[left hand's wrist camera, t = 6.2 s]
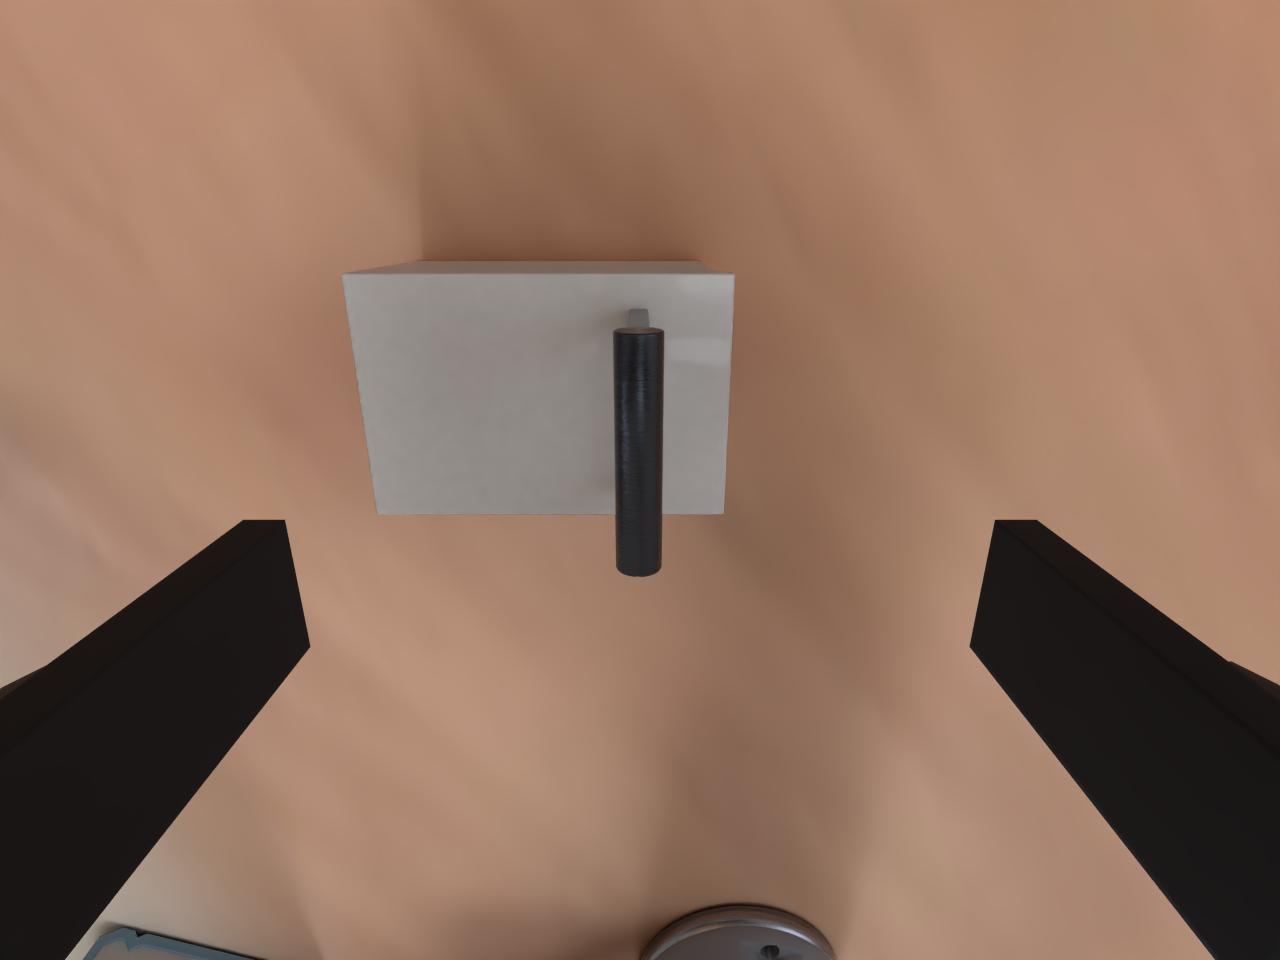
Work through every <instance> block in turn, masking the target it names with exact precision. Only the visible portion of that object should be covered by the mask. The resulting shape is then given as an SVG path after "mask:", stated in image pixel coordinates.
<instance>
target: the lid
mask: <svg viewBox="0 0 1280 960" xmlns="http://www.w3.org/2000/svg"><path fill="white" fill-rule="evenodd" d="M342 282H343V289H344V295H345V302H346V309H347V316H348V322H349V329H350V336H351V342H352V349H353V356H354V363H355V369H356V376H357V383H358V390H359V396H360V403H361V410H362V416H363V423H364V430H365V437H366V443H367V450H368V457H369V463H370V470H371V477H372V484H373V490H374V497H375V504H376V511H377V514H378V515H615V520H616V567H617V569H618V571H619V572H621V573H623V574H625V575H628V576H633V577H645V576H650V575H653V574H655V573H657V572H658V571H659V570H660V569H661V565H662V515H722V514H723V513H724V499H725V478H726V457H727V436H728V415H729V394H730V373H731V352H732V331H733V309H734V288H735V274H734V273H732V272H348V273H343V274H342Z"/></svg>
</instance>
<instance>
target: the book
mask: <svg viewBox="0 0 1280 960" xmlns="http://www.w3.org/2000/svg"><path fill="white" fill-rule="evenodd" d="M83 960H253V959H249V958H245V957H241V956H237V955H232V954H228V953H224V952H220V951H216V950H212V949H208V948H204V947H200V946H196V945H192V944H188V943H184V942H179V941H175V940H171V939H167V938H163V937H159V936H155V935H151V934H145V935H143V936H140V937H137V934H136V932H135V930H131V929H126V928H121V929H118V930H115V931H113V932H110V933H108V934H105V935H102V936H100V938H99V939H98V940H97V942H96V943H95V944H94V945H93V947H92V948H91V949H90V951H89V952H88V953H87V955H86V956H85V957H84V959H83Z"/></svg>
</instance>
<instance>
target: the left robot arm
mask: <svg viewBox="0 0 1280 960" xmlns="http://www.w3.org/2000/svg"><path fill="white" fill-rule="evenodd" d="M309 648H310V642H309V637H308V632H307V627H306V622H305V617H304V612H303V607H302V602H301V597H300V592H299V587H298V582H297V578H296V573H295V568H294V563H293V558H292V553H291V548H290V543H289V538H288V533H287V528H286V523H285V520H243V521H241V522H240V523H239V524H237V525H236V526H234V527H233V528H232V529H230V530H229V531H228V532H226V533H225V534H224V535H222V536H221V537H220V538H218V539H217V540H216V541H214V542H213V543H211V544H210V545H209V546H207V547H206V548H205V549H203V550H202V551H201V552H199V553H198V554H197V555H195V556H194V557H193V558H191V559H190V560H188V561H187V562H186V563H184V564H183V565H182V566H180V567H179V568H178V569H176V570H175V571H174V572H172V573H171V574H170V575H168V576H167V577H166V578H164V579H163V580H161V581H160V582H159V583H157V584H156V585H155V586H153V587H152V588H151V589H149V590H148V591H147V592H145V593H144V594H143V595H141V596H140V597H138V598H137V599H136V600H134V601H133V602H132V603H130V604H129V605H128V606H126V607H125V608H124V609H122V610H121V611H120V612H118V613H117V614H115V615H114V616H113V617H111V618H110V619H109V620H107V621H106V622H105V623H103V624H102V625H101V626H99V627H98V628H97V629H95V630H94V631H93V632H91V633H90V634H88V635H87V636H86V637H84V638H83V639H82V640H80V641H79V642H78V643H76V644H75V645H74V646H72V647H71V648H70V649H68V650H67V651H65V652H64V653H63V654H61V655H60V656H59V657H57V658H56V659H55V660H53V661H52V662H51V663H49V664H48V665H46V666H44V667H42V668H40V669H38V670H36V671H34V672H32V673H30V674H28V675H26V676H24V677H22V678H20V679H18V680H16V681H14V682H12V683H10V684H8V685H6V686H4V687H2V688H1V689H0V960H65V959H66V958H67V956H68V955H69V954H70V952H71V951H72V950H73V949H74V947H75V946H76V945H77V944H78V942H79V941H80V940H81V938H82V937H83V936H84V935H85V933H86V932H87V931H88V930H89V928H90V927H91V926H92V924H93V923H94V922H95V921H96V919H97V918H98V917H99V915H100V914H101V913H102V912H103V910H104V909H105V908H106V907H107V905H108V904H109V903H110V901H111V900H112V899H113V898H114V896H115V895H116V894H117V893H118V891H119V890H120V889H121V887H122V886H123V885H124V884H125V882H126V881H127V880H128V879H129V877H130V876H131V875H132V873H133V872H134V871H135V870H136V868H137V867H138V866H139V865H140V863H141V862H142V861H143V859H144V858H145V857H146V856H147V854H148V853H149V852H150V850H151V849H152V848H153V847H154V845H155V844H156V843H157V842H158V840H159V839H160V838H161V836H162V835H163V834H164V833H165V831H166V830H167V829H168V828H169V826H170V825H171V824H172V822H173V821H174V820H175V819H176V817H177V816H178V815H179V814H180V812H181V811H182V810H183V808H184V807H185V806H186V805H187V803H188V802H189V801H190V800H191V798H192V797H193V796H194V794H195V793H196V792H197V791H198V789H199V788H200V787H201V785H202V784H203V783H204V782H205V780H206V779H207V778H208V777H209V775H210V774H211V773H212V771H213V770H214V769H215V768H216V766H217V765H218V764H219V763H220V761H221V760H222V759H223V757H224V756H225V755H226V754H227V752H228V751H229V750H230V749H231V747H232V746H233V745H234V743H235V742H236V741H237V740H238V738H239V737H240V736H241V734H242V733H243V732H244V731H245V729H246V728H247V727H248V726H249V724H250V723H251V722H252V720H253V719H254V718H255V717H256V715H257V714H258V713H259V712H260V710H261V709H262V708H263V706H264V705H265V704H266V703H267V701H268V700H269V699H270V698H271V696H272V695H273V694H274V692H275V691H276V690H277V689H278V687H279V686H280V685H281V684H282V682H283V681H284V680H285V678H286V677H287V676H288V675H289V673H290V672H291V671H292V669H293V668H294V667H295V666H296V664H297V663H298V662H299V661H300V659H301V658H302V657H303V655H304V654H305V653H306V652H307V650H308V649H309ZM970 648H971V649H972V650H973V652H974V653H975V654H976V655H977V657H978V658H979V659H980V661H981V662H982V663H983V664H984V666H985V667H986V668H987V669H988V671H989V672H990V673H991V675H992V676H993V677H994V678H995V680H996V681H997V682H998V684H999V685H1000V686H1001V687H1002V689H1003V690H1004V691H1005V692H1006V694H1007V695H1008V696H1009V698H1010V699H1011V700H1012V701H1013V703H1014V704H1015V705H1016V706H1017V708H1018V709H1019V710H1020V712H1021V713H1022V714H1023V715H1024V717H1025V718H1026V719H1027V720H1028V722H1029V723H1030V724H1031V726H1032V727H1033V728H1034V729H1035V731H1036V732H1037V733H1038V735H1039V736H1040V737H1041V738H1042V740H1043V741H1044V742H1045V743H1046V745H1047V746H1048V747H1049V749H1050V750H1051V751H1052V752H1053V754H1054V755H1055V756H1056V757H1057V759H1058V760H1059V761H1060V763H1061V764H1062V765H1063V766H1064V768H1065V769H1066V770H1067V771H1068V773H1069V774H1070V775H1071V777H1072V778H1073V779H1074V780H1075V782H1076V783H1077V784H1078V785H1079V787H1080V788H1081V789H1082V791H1083V792H1084V793H1085V794H1086V796H1087V797H1088V798H1089V800H1090V801H1091V802H1092V803H1093V805H1094V806H1095V807H1096V808H1097V810H1098V811H1099V812H1100V814H1101V815H1102V816H1103V817H1104V819H1105V820H1106V821H1107V822H1108V824H1109V825H1110V826H1111V828H1112V829H1113V830H1114V831H1115V833H1116V834H1117V835H1118V836H1119V838H1120V839H1121V840H1122V842H1123V843H1124V844H1125V845H1126V847H1127V848H1128V849H1129V850H1130V852H1131V853H1132V854H1133V856H1134V857H1135V858H1136V859H1137V861H1138V862H1139V863H1140V865H1141V866H1142V867H1143V868H1144V870H1145V871H1146V872H1147V873H1148V875H1149V876H1150V877H1151V879H1152V880H1153V881H1154V882H1155V884H1156V885H1157V886H1158V887H1159V889H1160V890H1161V891H1162V893H1163V894H1164V895H1165V896H1166V898H1167V899H1168V900H1169V901H1170V903H1171V904H1172V905H1173V907H1174V908H1175V909H1176V910H1177V912H1178V913H1179V914H1180V915H1181V917H1182V918H1183V919H1184V921H1185V922H1186V923H1187V924H1188V926H1189V927H1190V928H1191V930H1192V931H1193V932H1194V933H1195V935H1196V936H1197V937H1198V938H1199V940H1200V941H1201V942H1202V944H1203V945H1204V946H1205V947H1206V949H1207V950H1208V951H1209V952H1210V954H1211V955H1212V956H1213V958H1214V959H1215V960H1280V686H1279V685H1278V684H1276V683H1274V682H1272V681H1270V680H1268V679H1266V678H1264V677H1262V676H1260V675H1258V674H1256V673H1254V672H1252V671H1250V670H1248V669H1246V668H1244V667H1242V666H1240V665H1238V664H1236V663H1233V662H1228V661H1227V660H1225V659H1224V658H1223V657H1221V656H1220V655H1219V654H1217V653H1216V652H1215V651H1213V650H1212V649H1210V648H1209V647H1208V646H1206V645H1205V644H1204V643H1202V642H1201V641H1200V640H1198V639H1197V638H1196V637H1194V636H1193V635H1192V634H1190V633H1189V632H1187V631H1186V630H1185V629H1183V628H1182V627H1181V626H1179V625H1178V624H1177V623H1175V622H1174V621H1173V620H1171V619H1170V618H1169V617H1167V616H1166V615H1165V614H1163V613H1162V612H1160V611H1159V610H1158V609H1156V608H1155V607H1154V606H1152V605H1151V604H1150V603H1148V602H1147V601H1146V600H1144V599H1143V598H1142V597H1140V596H1139V595H1137V594H1136V593H1135V592H1133V591H1132V590H1131V589H1129V588H1128V587H1127V586H1125V585H1124V584H1123V583H1121V582H1120V581H1119V580H1117V579H1116V578H1114V577H1113V576H1112V575H1110V574H1109V573H1108V572H1106V571H1105V570H1104V569H1102V568H1101V567H1100V566H1098V565H1097V564H1096V563H1094V562H1093V561H1092V560H1090V559H1089V558H1087V557H1086V556H1085V555H1083V554H1082V553H1081V552H1079V551H1078V550H1077V549H1075V548H1074V547H1073V546H1071V545H1070V544H1069V543H1067V542H1066V541H1064V540H1063V539H1062V538H1060V537H1059V536H1058V535H1056V534H1055V533H1054V532H1052V531H1051V530H1050V529H1048V528H1047V527H1046V526H1044V525H1043V524H1041V523H1040V522H1039V521H1037V520H995V523H994V528H993V533H992V538H991V543H990V548H989V553H988V558H987V563H986V568H985V573H984V578H983V582H982V587H981V592H980V597H979V602H978V607H977V612H976V617H975V622H974V627H973V632H972V637H971V642H970ZM640 960H836V959H835V956H834V953H833V951H832V948H831V947H830V945H829V943H828V942H827V941H826V939H825V938H824V937H823V936H822V935H821V934H820V933H819V932H818V931H817V930H816V929H815V928H813V927H812V926H811V925H809V924H808V923H806V922H805V921H803V920H801V919H799V918H797V917H795V916H792V915H790V914H788V913H785V912H781V911H778V910H774V909H769V908H763V907H755V906H728V907H720V908H714V909H710V910H705V911H702V912H698V913H695V914H693V915H690V916H687V917H685V918H683V919H681V920H679V921H677V922H675V923H674V924H672V925H670V926H669V927H667V928H666V929H664V930H663V931H662V932H661V933H660V934H658V935H657V936H656V937H655V938H654V939H653V940H652V941H651V943H650V944H649V945H648V946H647V948H646V950H645V951H644V953H643V955H642V957H641V959H640Z"/></svg>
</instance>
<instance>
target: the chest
mask: <svg viewBox="0 0 1280 960" xmlns="http://www.w3.org/2000/svg"><path fill="white" fill-rule="evenodd" d="M354 272H716V271H714V270H713V269H711V268H709V267H707V266H706V265H704V264H702V263H701V262H700V261H699V260H421V261H417V262H411V263H405V264H398V265H392V266H386V267H379V268H373V269H367V270H360V271H354Z"/></svg>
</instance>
